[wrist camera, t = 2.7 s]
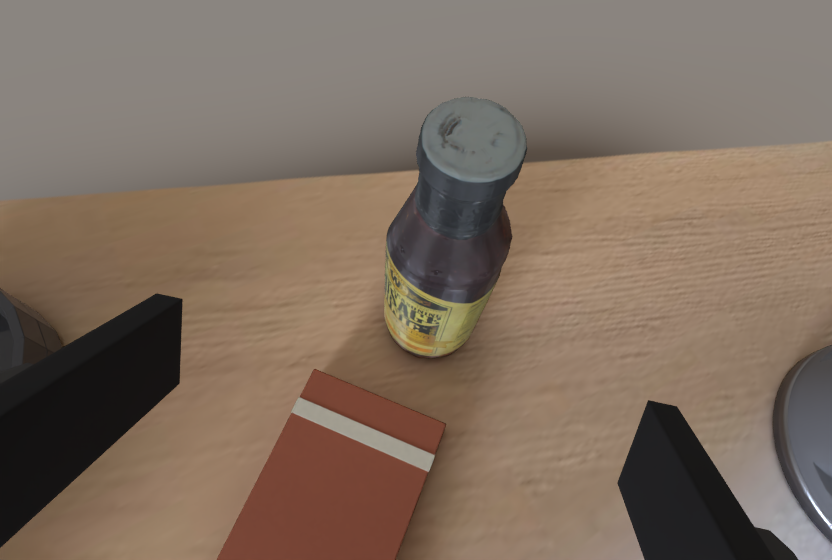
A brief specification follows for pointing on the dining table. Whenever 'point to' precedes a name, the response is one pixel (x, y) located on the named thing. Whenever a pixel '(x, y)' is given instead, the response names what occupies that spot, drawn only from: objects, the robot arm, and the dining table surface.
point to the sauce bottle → (452, 226)
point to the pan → (23, 334)
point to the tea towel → (337, 479)
